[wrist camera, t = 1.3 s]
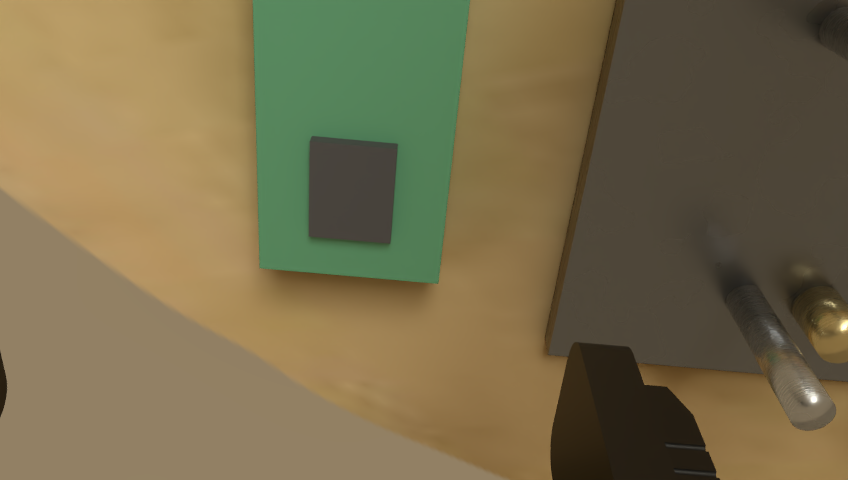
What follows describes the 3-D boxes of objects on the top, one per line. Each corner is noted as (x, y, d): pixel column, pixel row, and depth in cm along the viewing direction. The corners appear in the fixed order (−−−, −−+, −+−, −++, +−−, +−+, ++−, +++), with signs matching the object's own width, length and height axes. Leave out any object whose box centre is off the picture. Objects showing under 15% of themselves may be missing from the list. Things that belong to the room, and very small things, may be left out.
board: (274, -178, 20) (244, -175, 17) (481, -158, 20) (487, -152, 17) (278, 221, 26) (256, 275, 23) (439, 236, 26) (438, 290, 23)
